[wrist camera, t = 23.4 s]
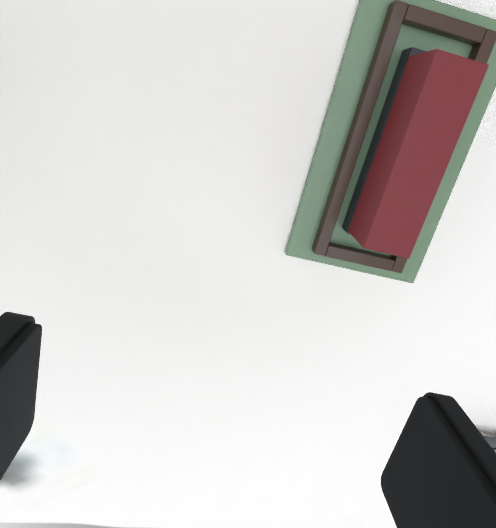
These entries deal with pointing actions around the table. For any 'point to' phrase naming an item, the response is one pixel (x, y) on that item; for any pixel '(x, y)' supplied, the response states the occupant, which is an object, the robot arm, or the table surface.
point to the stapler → (412, 148)
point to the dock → (365, 121)
